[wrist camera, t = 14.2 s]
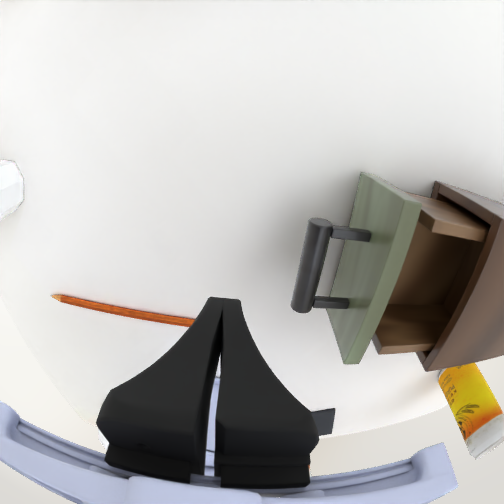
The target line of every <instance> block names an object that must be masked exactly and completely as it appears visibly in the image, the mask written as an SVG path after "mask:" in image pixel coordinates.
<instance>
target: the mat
mask: <svg viewBox="0 0 504 504" xmlns="http://www.w3.org/2000/svg"><path fill="white" fill-rule="evenodd" d="M311 413H312V416H313V418H314V421H315V423H316V426H317V430H318V434H319V436H321V435H327V434H332V428H333V422H334V415H335V408H333V409H328V410H322V411H317V412H311Z"/></svg>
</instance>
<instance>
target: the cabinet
mask: <svg viewBox="0 0 504 504" xmlns="http://www.w3.org/2000/svg"><path fill="white" fill-rule="evenodd" d="M431 198H432V199H436V200H439V201H443V202H447V203H451V204H454V205H458V206H461V207H464V208H465V209H467V210H468V211H470V212H472V213H473V214H475V215H476V216H478V217H479V218H481V219H482V220H484V221H485V222H487V223H488V224H490V225H491V227H490V230H489V233H488V236H487V239H486V242H485V244H484V247H483V250H482V252H481V255H480V257H479V260H478V262H477V265H476V267H475V269H474V272H473V274H472V276H471V278H470V281H469V283H468V285H467V287H466V289H465V291H464V293H463V295H462V298H461V300H460V302H459V303H458V305H457V307H456V309H455V311H454V313H453V315H452V317H451V319H450V320H449V322H448V324H447V326H446V328H445V329H444V331H443V333H442V334H441V336H440V338H439V339H438V341H437V343H436V344H435V346H434V348H433V349H432V350H429V351H419V352H416V354H417V356H418V358H419V360H420V362H421V364H423V365H422V366H423V368H424V370H425V371H426V372H428V371H434V370H440V369H446V368H451V367H456V366H461V365H466V364H470V363H475V362H479V361H483V360H487V359H491V358H495V357H498V356H502V355H504V205H503V204H501V203H498V202H496V201H493V200H491V199H488V198H485V197H483V196H480V195H477V194H474V193H472V192H469V191H466V190H463V189H460V188H457V187H454V186H451V185H448V184H445V183H441V182H438V181H435V184H434V188H433V192H432V196H431Z"/></svg>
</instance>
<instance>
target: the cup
mask: <svg viewBox="0 0 504 504" xmlns="http://www.w3.org/2000/svg"><path fill="white" fill-rule="evenodd" d="M23 200H24V179H23V177H22V175H21V173H20V171H19V169H18V167H17V165H16V163H15V162H13V161H7V160H1V161H0V221H2V220H3V219H4V218H6V217H7V216H8V215H10V214H11V213H13V212H14V211H16V209H17V208H18V207H19V205H20V204H21V203H22V201H23Z"/></svg>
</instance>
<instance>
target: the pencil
mask: <svg viewBox="0 0 504 504" xmlns="http://www.w3.org/2000/svg"><path fill="white" fill-rule="evenodd" d="M50 296H51V297H53V298H55V299H56V300H58V301H60V302H63V303H67V304H71V305H75V306H79V307H83V308H88V309H92V310H97V311H101V312H106V313H111V314H116V315H121V316H126V317H131V318H137V319H142V320H148V321H154V322H160V323H166V324H172V325H179V326H186V327H190V326H191V325H192V323H193V322H194V321H195V319H188V318H181V317H174V316H168V315H161V314H155V313H149V312H143V311H137V310H132V309H126V308H121V307H116V306H111V305H106V304H101V303H96V302H91V301H87V300H82V299H78V298H73V297H69V296H65V295H50Z"/></svg>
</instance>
